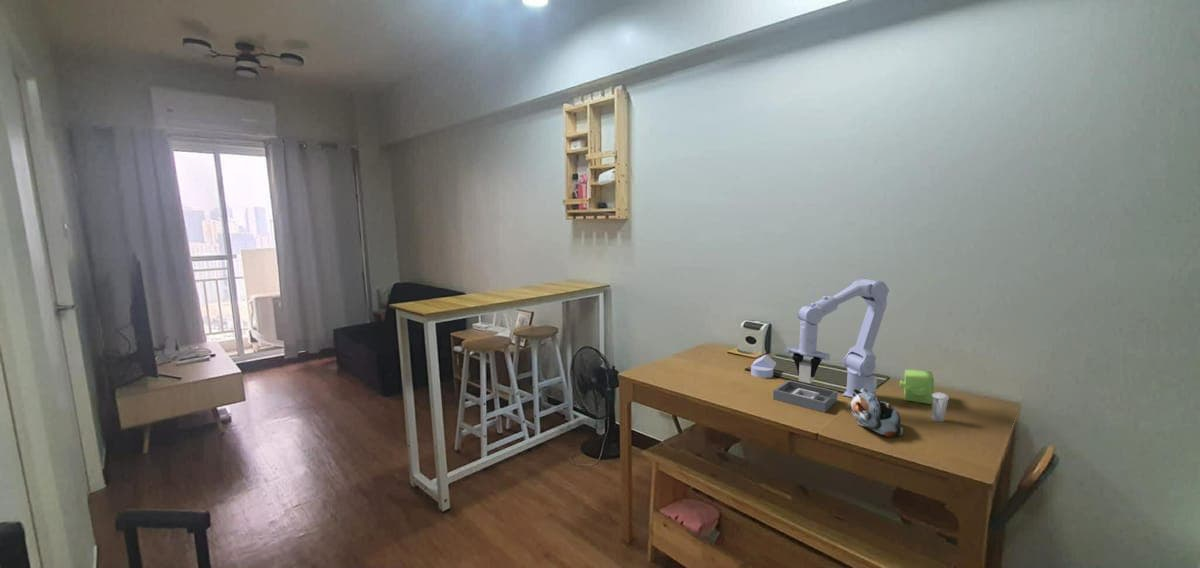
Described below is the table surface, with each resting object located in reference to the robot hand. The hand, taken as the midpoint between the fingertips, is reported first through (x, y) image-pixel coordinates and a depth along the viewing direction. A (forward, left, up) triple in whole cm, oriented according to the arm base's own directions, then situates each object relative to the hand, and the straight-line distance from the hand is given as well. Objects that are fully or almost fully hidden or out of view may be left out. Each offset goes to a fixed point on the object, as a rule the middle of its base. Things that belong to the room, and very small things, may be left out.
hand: (806, 375), depth 167 cm
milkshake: (-38, -12, -10) cm, 41 cm away
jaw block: (0, 0, -2) cm, 2 cm away
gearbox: (-29, -30, -10) cm, 43 cm away
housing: (0, 0, -9) cm, 9 cm away
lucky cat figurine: (-25, +9, -10) cm, 28 cm away
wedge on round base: (+24, -18, -10) cm, 31 cm away
